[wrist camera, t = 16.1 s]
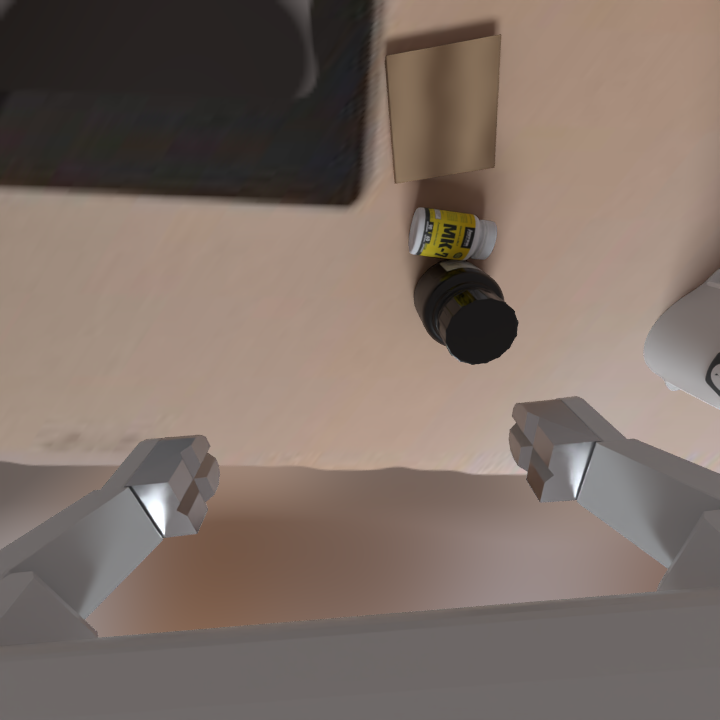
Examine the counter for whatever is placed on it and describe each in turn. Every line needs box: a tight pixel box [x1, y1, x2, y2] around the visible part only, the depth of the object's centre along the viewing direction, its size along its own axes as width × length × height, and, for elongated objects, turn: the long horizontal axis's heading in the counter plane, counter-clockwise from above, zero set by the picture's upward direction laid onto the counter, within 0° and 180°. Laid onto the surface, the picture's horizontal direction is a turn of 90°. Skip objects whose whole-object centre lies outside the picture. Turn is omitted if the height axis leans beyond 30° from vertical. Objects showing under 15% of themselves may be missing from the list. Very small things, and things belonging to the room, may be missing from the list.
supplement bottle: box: [409, 207, 497, 260], centre depth 35 cm, size 5×5×8 cm
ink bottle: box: [414, 259, 518, 365], centre depth 35 cm, size 10×9×12 cm
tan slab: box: [385, 34, 501, 184], centre depth 31 cm, size 10×10×2 cm
